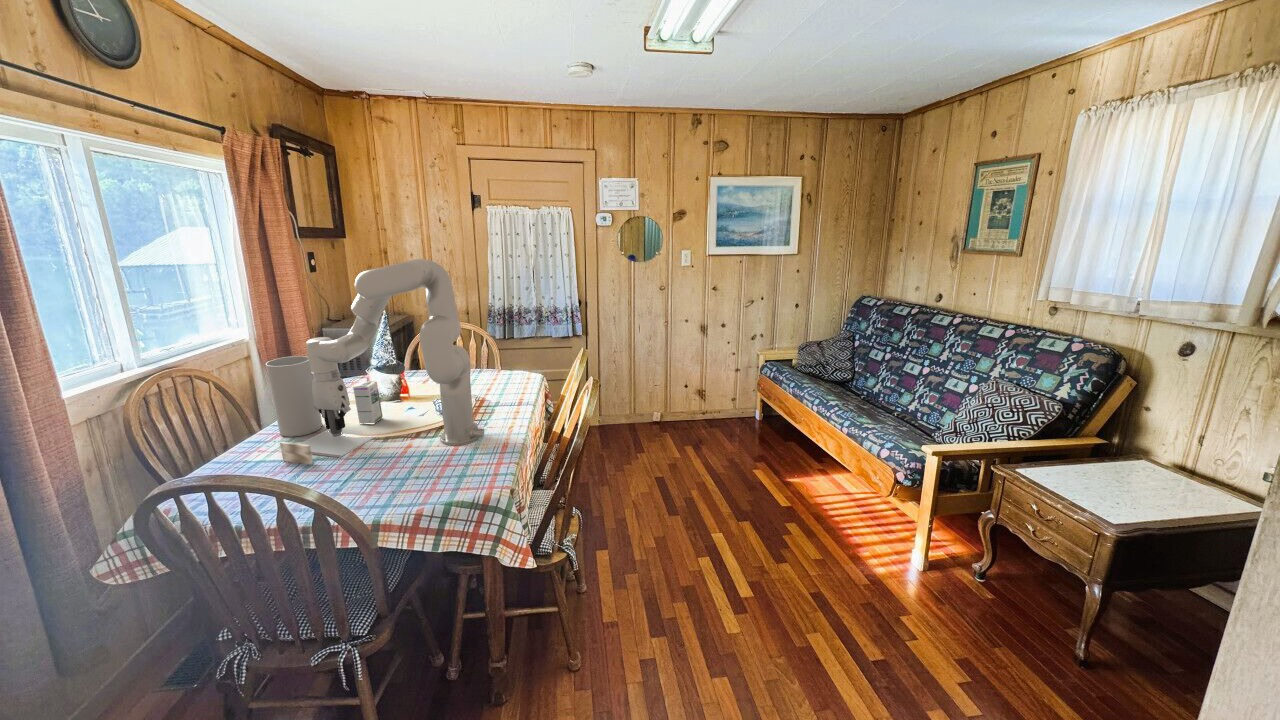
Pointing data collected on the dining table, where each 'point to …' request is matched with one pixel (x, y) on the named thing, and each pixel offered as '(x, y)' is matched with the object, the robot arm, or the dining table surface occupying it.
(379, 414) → the syrup box
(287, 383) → the cylinder vase
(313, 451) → the notepad
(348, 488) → the dining table surface
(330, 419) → the marker
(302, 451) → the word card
